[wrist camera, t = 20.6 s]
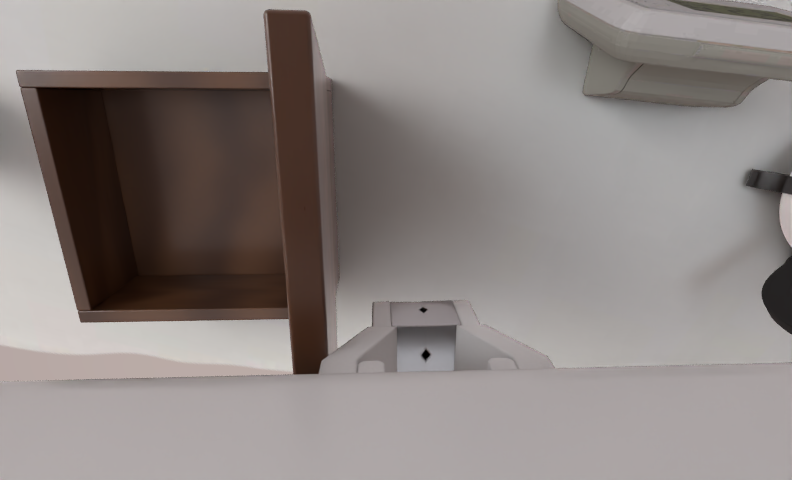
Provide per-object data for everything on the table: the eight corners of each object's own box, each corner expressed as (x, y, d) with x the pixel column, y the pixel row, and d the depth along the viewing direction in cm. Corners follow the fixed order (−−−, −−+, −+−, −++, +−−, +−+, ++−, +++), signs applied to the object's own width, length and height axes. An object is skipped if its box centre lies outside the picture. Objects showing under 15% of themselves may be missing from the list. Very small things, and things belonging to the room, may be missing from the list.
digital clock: (775, 19, 31) (969, -21, 21) (712, 140, 33) (858, 157, 23) (575, -62, 29) (683, -150, 19) (524, 74, 31) (595, 62, 21)
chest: (135, 281, 35) (80, 323, 28) (93, 76, 30) (14, 70, 24) (339, 278, 36) (331, 318, 29) (331, 78, 31) (319, 72, 24)
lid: (314, 628, 12) (342, 623, 12) (262, 8, 7) (310, 9, 7) (325, 322, 29) (336, 321, 29) (311, 72, 24) (326, 72, 24)
